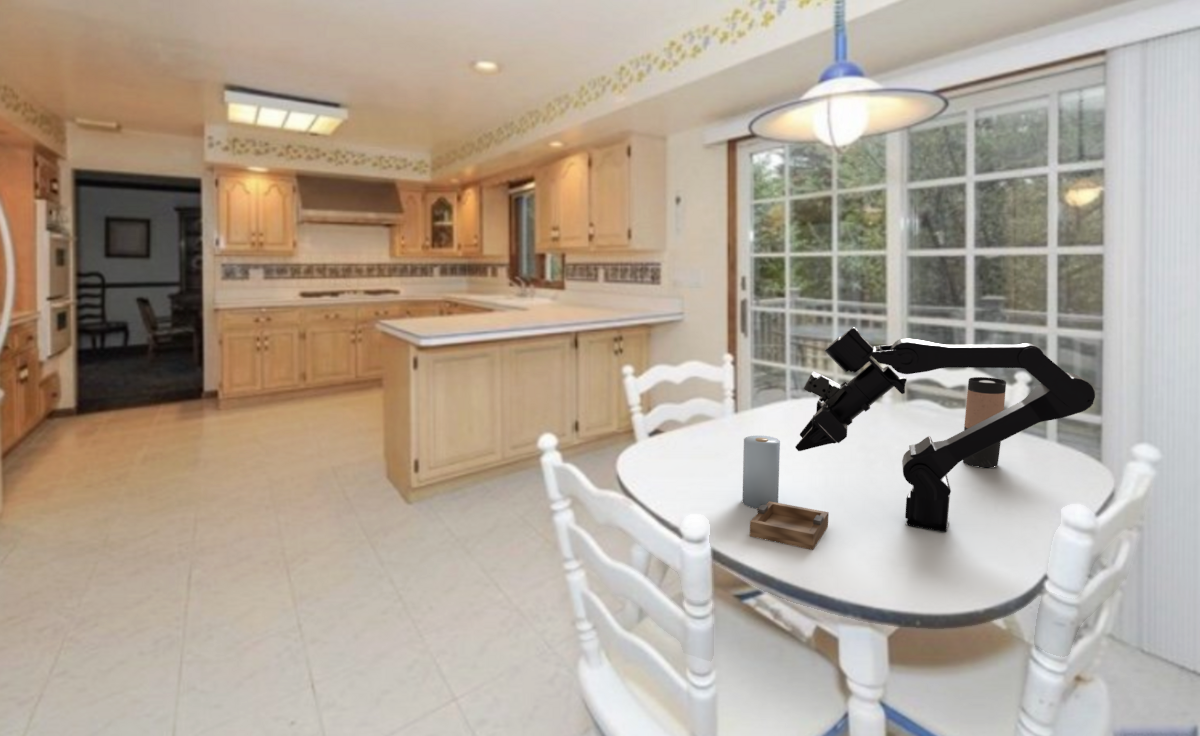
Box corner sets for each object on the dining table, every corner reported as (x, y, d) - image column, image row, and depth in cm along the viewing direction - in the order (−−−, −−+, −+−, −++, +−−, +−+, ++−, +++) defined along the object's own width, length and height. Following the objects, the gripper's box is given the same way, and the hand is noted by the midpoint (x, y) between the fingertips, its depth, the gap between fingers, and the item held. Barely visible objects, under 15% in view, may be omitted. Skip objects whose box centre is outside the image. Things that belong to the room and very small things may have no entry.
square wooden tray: (828, 526, 119) (829, 508, 118) (813, 550, 109) (814, 530, 109) (768, 514, 124) (768, 497, 124) (749, 536, 115) (749, 517, 115)
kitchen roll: (782, 499, 132) (784, 437, 130) (771, 511, 126) (773, 446, 124) (749, 493, 136) (750, 432, 133) (737, 504, 130) (738, 441, 127)
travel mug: (956, 457, 157) (962, 376, 153) (990, 458, 156) (997, 377, 152) (969, 468, 149) (976, 383, 146) (1005, 469, 148) (1013, 383, 145)
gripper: (834, 351, 130) (775, 401, 136) (829, 367, 113) (763, 423, 119) (874, 392, 128) (813, 441, 134) (876, 414, 111) (806, 469, 117)
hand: (799, 442), depth 126 cm, fingers open, 9 cm apart
